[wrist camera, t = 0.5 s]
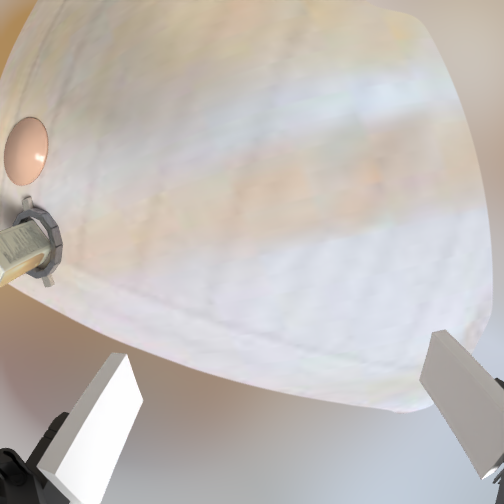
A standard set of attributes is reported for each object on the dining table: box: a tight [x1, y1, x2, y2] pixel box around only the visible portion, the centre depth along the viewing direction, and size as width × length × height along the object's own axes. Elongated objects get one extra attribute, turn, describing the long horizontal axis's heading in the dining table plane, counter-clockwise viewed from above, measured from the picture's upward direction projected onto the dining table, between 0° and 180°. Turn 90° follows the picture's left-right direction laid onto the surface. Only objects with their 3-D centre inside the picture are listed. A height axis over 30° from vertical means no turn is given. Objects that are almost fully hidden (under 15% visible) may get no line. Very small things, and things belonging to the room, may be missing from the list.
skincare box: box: [0, 220, 51, 288], centre depth 32 cm, size 6×4×12 cm
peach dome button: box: [4, 118, 48, 185], centre depth 33 cm, size 11×11×1 cm
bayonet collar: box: [13, 197, 63, 287], centre depth 37 cm, size 15×11×2 cm
